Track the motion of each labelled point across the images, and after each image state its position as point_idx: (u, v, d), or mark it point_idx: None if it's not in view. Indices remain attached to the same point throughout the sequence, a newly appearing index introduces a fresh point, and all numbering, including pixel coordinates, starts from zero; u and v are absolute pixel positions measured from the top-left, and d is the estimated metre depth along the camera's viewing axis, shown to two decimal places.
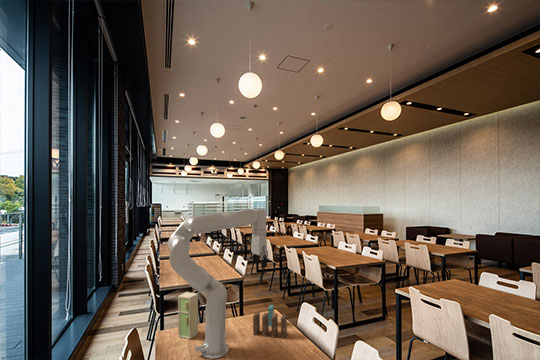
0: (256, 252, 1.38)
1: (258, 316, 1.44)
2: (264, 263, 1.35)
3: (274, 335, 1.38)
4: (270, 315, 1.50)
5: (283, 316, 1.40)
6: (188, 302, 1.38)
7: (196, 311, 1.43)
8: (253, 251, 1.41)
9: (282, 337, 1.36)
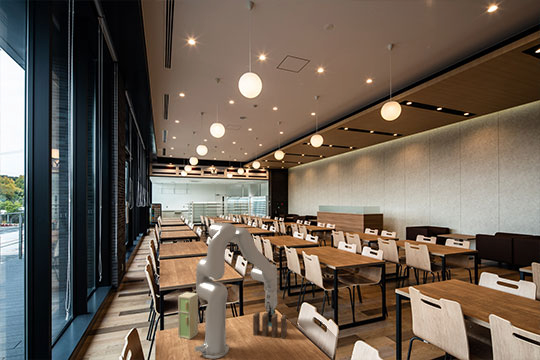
0: (276, 303, 1.54)
1: (258, 316, 1.44)
2: None
3: (274, 335, 1.38)
4: None
5: (283, 316, 1.40)
6: (188, 302, 1.39)
7: (196, 311, 1.43)
8: (275, 306, 1.51)
9: (282, 337, 1.36)
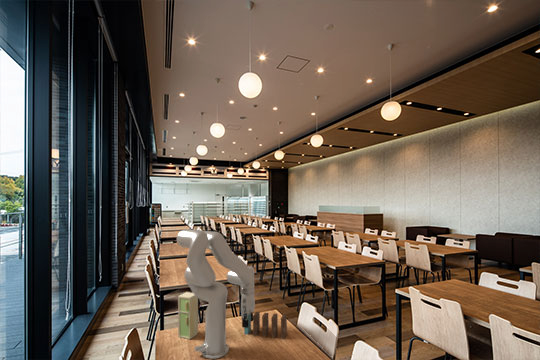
0: (253, 308, 1.46)
1: (258, 316, 1.44)
2: None
3: (274, 335, 1.38)
4: None
5: (283, 316, 1.40)
6: (188, 302, 1.39)
7: (196, 311, 1.43)
8: (251, 310, 1.43)
9: (282, 337, 1.36)
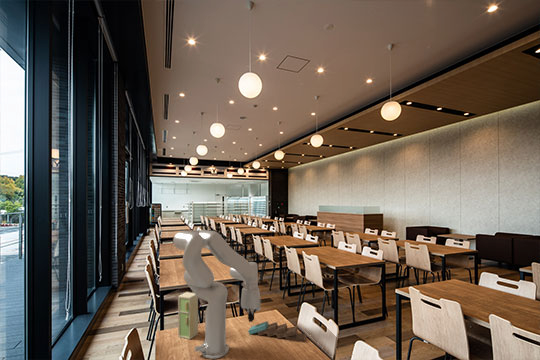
0: (252, 307, 1.41)
1: None
2: (253, 317, 1.44)
3: (279, 337, 1.37)
4: (259, 330, 1.40)
5: (305, 338, 1.36)
6: (188, 302, 1.38)
7: (196, 311, 1.43)
8: (246, 306, 1.42)
9: (286, 338, 1.36)
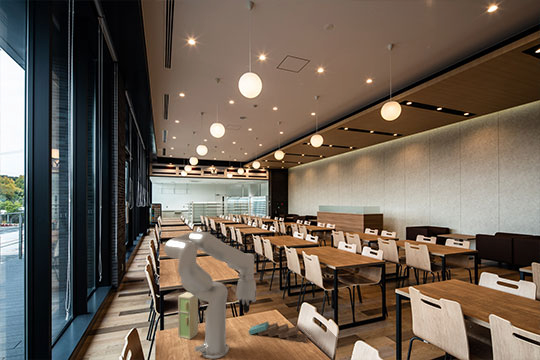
0: (248, 297, 1.42)
1: None
2: (248, 308, 1.44)
3: (281, 337, 1.36)
4: (259, 330, 1.40)
5: (306, 339, 1.35)
6: (188, 302, 1.38)
7: (196, 311, 1.43)
8: (242, 297, 1.43)
9: (287, 338, 1.35)
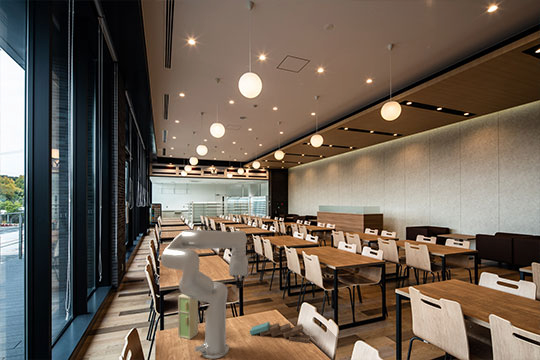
0: (240, 273, 1.45)
1: None
2: (241, 284, 1.47)
3: (286, 336, 1.36)
4: (260, 330, 1.39)
5: (309, 339, 1.34)
6: (188, 302, 1.38)
7: (196, 311, 1.43)
8: (234, 273, 1.45)
9: (290, 339, 1.34)
